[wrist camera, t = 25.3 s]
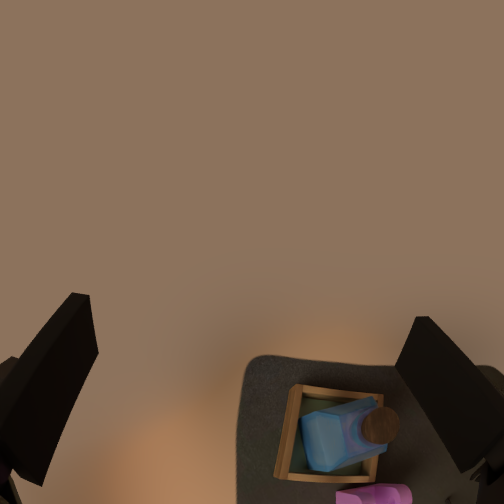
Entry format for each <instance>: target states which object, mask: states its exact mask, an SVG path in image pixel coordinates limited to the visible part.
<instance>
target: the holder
mask: <svg viewBox="0 0 504 504" xmlns="http://www.w3.org/2000/svg"><path fill="white" fill-rule="evenodd" d="M369 396H373V398H374V399H375V401H376V402H377V404H378V407H383V400H384V395H383V394H371V393H361V392H352V391H343V390H335V389H328V388H320V387H314V386H307V385H301V384H296V385H295V386H293V387H292V388H291V389H290V390H289V395H288V401H287V407H286V413H285V419H284V424H283V430H282V435H281V440H280V445H279V451H278V456H277V461H276V465H275V470H274V475H273V476H274V477H276V478H279V479H286V480H296V481H309V482H329V483H366V482H375V478H376V471H377V464H378V456H379V454H378V455H376V456H373V457H371V458H368V459H365V460H363V461H360V462H357V463H354V464H351V465H348V466H345V467H342V468H339V469H336V470H333V471H330V472H324V471H316V470H309V469H308V467H307V462H306V458H305V453H304V448H303V444H302V439H301V435H300V430H299V425H298V418H301V417H303V416H305V415H308V414H310V413H312V412H314V411H318V410H323V409H327V408H331V407H334V406H338V405H342V404H346V403H349V402H353V401H356V400H360V399H363V398H366V397H369Z"/></svg>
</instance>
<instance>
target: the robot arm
mask: <svg viewBox="0 0 504 504" xmlns="http://www.w3.org/2000/svg"><path fill="white" fill-rule="evenodd" d="M98 354H99V352H98V347H97V342H96V336H95V330H94V325H93V318H92V312H91V304H90V296H89V295H85V294H78V293H71V294H70V295H69V297H68V298H67V299H66V300H65V301H64V302H63V304H62V305H61V306H60V307H59V308H58V309H57V311H56V312H55V313H54V314H53V315H52V317H51V318H50V319H49V320H48V322H47V323H46V324H45V325H44V327H43V328H42V329H41V330H40V331H39V333H38V334H37V335H36V337H35V338H34V339H33V340H32V342H31V343H30V344H29V346H28V347H27V348H26V350H25V351H24V352H23V354H22V355H21V356H20V358H19V359H18V358H15V357H12V356H11V357H10V358H8V359H7V360H6V361H4V362H3V363H1V364H0V504H22V502H21V500H20V497H19V495H18V492H17V489H16V487H15V484H14V481H13V479H12V478H11V476H10V474H11V471H12V469H14V470H15V471H16V473H17V474H18V475H19V476H20V477H21V478H23V479H25V480H27V481H29V482H32V483H34V484H36V485H39V486H41V487H42V485H43V482H44V479H45V476H46V473H47V471H48V468H49V465H50V462H51V460H52V457H53V454H54V452H55V449H56V447H57V444H58V442H59V439H60V436H61V434H62V432H63V429H64V427H65V425H66V422H67V420H68V418H69V415H70V413H71V411H72V408H73V406H74V404H75V401H76V399H77V397H78V395H79V393H80V391H81V389H82V386H83V384H84V382H85V380H86V378H87V376H88V374H89V372H90V370H91V367H92V366H93V363H94V361H95V360H96V357H97V355H98ZM395 367H396V369H397V370H398V372H399V373H400V375H401V376H402V378H403V379H404V381H405V382H406V384H407V386H408V387H409V389H410V390H411V392H412V393H413V395H414V396H415V398H416V400H417V401H418V403H419V404H420V406H421V407H422V409H423V411H424V412H425V414H426V415H427V417H428V419H429V420H430V422H431V423H432V425H433V427H434V428H435V430H436V432H437V433H438V435H439V437H440V438H441V440H442V442H443V443H444V445H445V447H446V448H447V450H448V452H449V453H450V455H451V457H452V459H453V460H454V462H455V464H456V466H457V467H458V469H459V471H460V473H463V472H465V471H467V470H469V469H471V468H473V467H475V466H476V465H477V464H478V463H479V461H480V460H481V459H482V458H483V457H484V458H485V459H486V461H485V462H484V463H483V464H482V466H481V467H480V468H478V469H477V470H476V471H475V472H474V473H473V474H472V475H471V478H470V480H473V479H474V478H475V477H476V476H477V475H478V474H479V473H481V474H480V475H479V476H478V477H477V478H476V480H475V481H476V482H480V483H479V490H478V496H477V502H476V504H504V396H503V395H501V394H500V391H499V390H498V389H497V388H495V386H494V384H493V383H492V382H491V381H490V380H489V379H488V378H487V377H486V376H484V375H483V374H482V373H481V372H480V370H479V369H478V368H477V367H476V366H475V365H474V364H473V363H472V362H471V360H469V358H468V357H467V356H466V355H465V354H464V353H463V352H462V351H461V350H460V348H459V347H458V346H457V345H456V344H455V343H454V342H453V341H452V340H451V339H450V338H449V337H448V336H447V335H446V334H445V333H444V332H443V331H442V330H441V329H440V327H438V326H437V324H435V322H434V321H433V320H432V319H430V317H429V316H424V317H423V316H422V317H416V318H415V320H414V323H413V325H412V328H411V330H410V333H409V335H408V338H407V340H406V342H405V344H404V347H403V349H402V351H401V354H400V356H399V358H398V360H397V362H396V364H395Z"/></svg>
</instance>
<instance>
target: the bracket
mask: <svg viewBox="0 0 504 504" xmlns="http://www.w3.org/2000/svg"><path fill="white" fill-rule="evenodd" d="M336 504H412V494H411V491H410V489H409V488H408V487H407V486H406V485H404V484H384V483H378V484H373V485H369V486H364V487H359V488H353V489H347V490H341V491H336Z"/></svg>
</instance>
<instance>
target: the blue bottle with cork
mask: <svg viewBox="0 0 504 504" xmlns="http://www.w3.org/2000/svg"><path fill="white" fill-rule="evenodd" d="M298 425H299V430H300V435H301V439H302V444H303V448H304V453H305V458H306V462H307V467H308V469H309V470H316V471H324V472H330V471H333V470H336V469H339V468H342V467H345V466H348V465H351V464H354V463H357V462H360V461H363V460H365V459H368V458H371V457H373V456H376V455H378V454H381V453H383V452H386V450H387V444H388V443H389V442H391V441H392V440H393V439H394V438H395V437H396V435H397V433H398V431H399V425H400V424H399V418H398V416H397V414H396V413H395V412H394V411H393V410H392V409H390V408H388V407H378V404H377V402H376V401H375V399H374V398H373V396H369V397H366V398H363V399H360V400H356V401H353V402H349V403H346V404H342V405H338V406H334V407H331V408H327V409H323V410H318V411H314V412H312V413H310V414H308V415H305V416H303V417H301V418H298Z"/></svg>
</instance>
